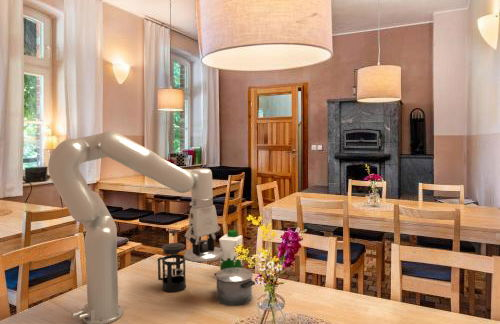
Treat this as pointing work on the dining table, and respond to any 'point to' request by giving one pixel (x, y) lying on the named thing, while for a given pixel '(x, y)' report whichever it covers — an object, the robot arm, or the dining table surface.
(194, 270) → the dining table surface
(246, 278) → the pot
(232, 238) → the milk carton
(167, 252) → the french press
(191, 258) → the lid
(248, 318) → the dining table surface
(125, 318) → the dining table surface
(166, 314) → the dining table surface
